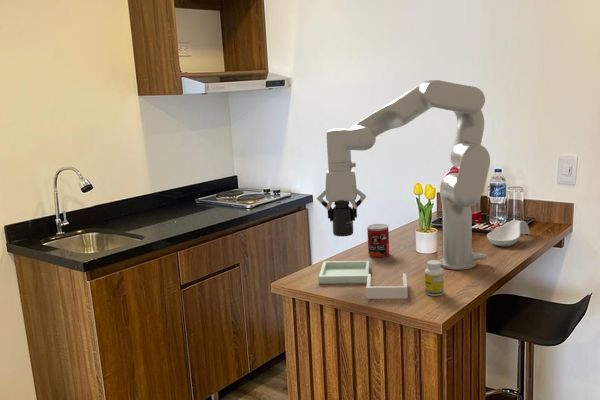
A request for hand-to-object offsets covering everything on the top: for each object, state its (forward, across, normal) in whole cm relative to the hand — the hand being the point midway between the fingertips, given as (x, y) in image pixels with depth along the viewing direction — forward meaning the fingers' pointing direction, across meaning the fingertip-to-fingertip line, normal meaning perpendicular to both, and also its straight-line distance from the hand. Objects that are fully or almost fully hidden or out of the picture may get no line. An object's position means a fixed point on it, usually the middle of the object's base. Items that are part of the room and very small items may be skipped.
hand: (342, 219), depth 191 cm
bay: (+19, -14, +15) cm, 28 cm away
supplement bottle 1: (+5, 0, 0) cm, 5 cm away
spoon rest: (+20, -61, -38) cm, 75 cm away
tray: (+19, 0, 0) cm, 19 cm away
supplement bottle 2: (+20, -28, +17) cm, 38 cm away
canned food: (+20, -11, -23) cm, 32 cm away
